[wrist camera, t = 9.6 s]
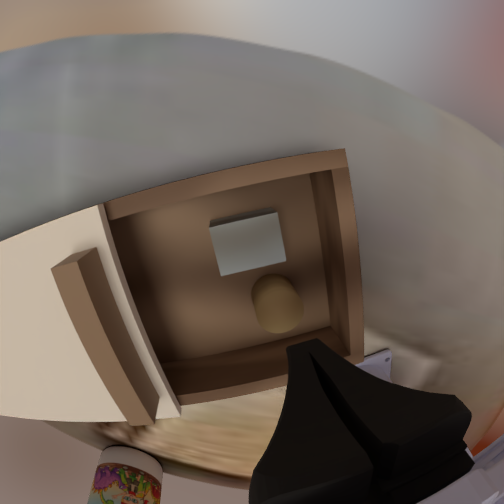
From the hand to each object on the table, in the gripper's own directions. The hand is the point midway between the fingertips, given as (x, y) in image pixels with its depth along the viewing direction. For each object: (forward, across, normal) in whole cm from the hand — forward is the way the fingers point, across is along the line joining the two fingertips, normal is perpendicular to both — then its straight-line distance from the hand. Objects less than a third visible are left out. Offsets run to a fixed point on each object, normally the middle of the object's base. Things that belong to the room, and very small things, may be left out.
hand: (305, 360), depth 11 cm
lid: (+5, +18, -1) cm, 19 cm away
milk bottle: (+11, +20, +20) cm, 30 cm away
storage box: (+10, +5, -1) cm, 12 cm away
